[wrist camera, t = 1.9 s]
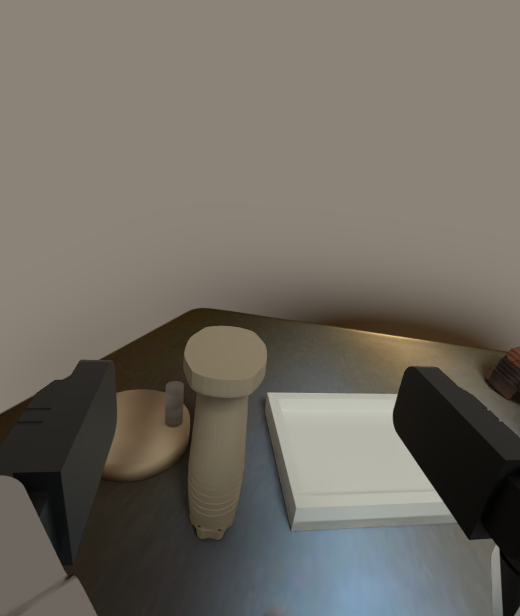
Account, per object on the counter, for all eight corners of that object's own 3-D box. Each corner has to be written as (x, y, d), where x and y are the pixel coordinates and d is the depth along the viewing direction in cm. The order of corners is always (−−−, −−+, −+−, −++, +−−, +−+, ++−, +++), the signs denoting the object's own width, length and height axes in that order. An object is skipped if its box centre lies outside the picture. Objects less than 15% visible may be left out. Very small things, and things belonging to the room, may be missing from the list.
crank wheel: (59, 483, 30) (52, 423, 27) (94, 404, 39) (90, 354, 36) (187, 480, 31) (189, 423, 29) (191, 405, 40) (193, 357, 38)
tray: (291, 531, 28) (296, 507, 27) (264, 411, 41) (267, 392, 40) (478, 521, 31) (488, 500, 30) (398, 411, 43) (404, 394, 42)
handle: (170, 564, 25) (175, 375, 19) (187, 485, 31) (194, 323, 25) (241, 569, 25) (268, 384, 19) (244, 489, 31) (265, 329, 25)
